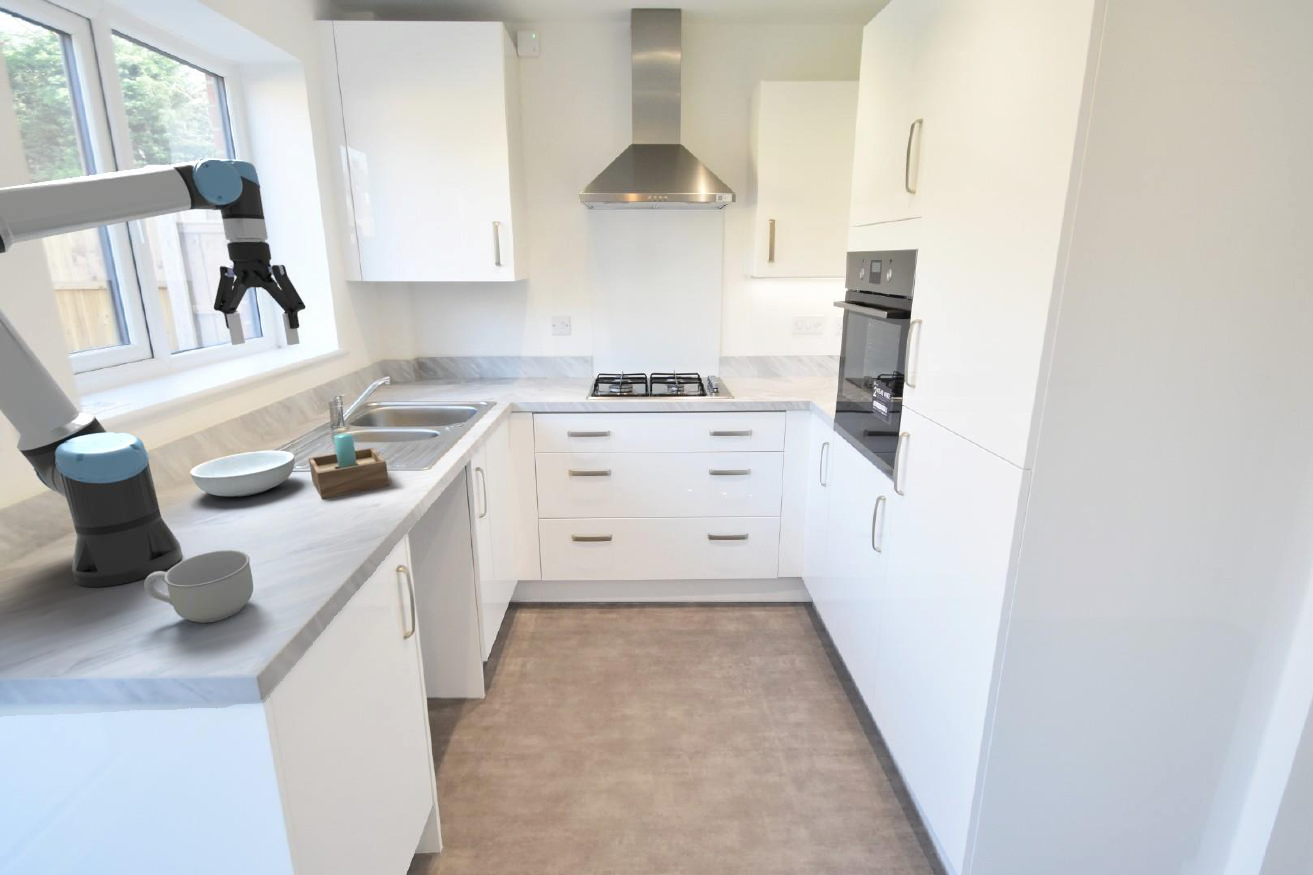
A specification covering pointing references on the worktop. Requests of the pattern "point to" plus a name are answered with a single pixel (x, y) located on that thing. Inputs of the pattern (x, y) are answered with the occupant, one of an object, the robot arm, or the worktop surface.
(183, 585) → the teacup
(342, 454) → the peg
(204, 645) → the worktop surface
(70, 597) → the worktop surface
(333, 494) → the bore box
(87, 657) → the worktop surface
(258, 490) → the serving bowl
